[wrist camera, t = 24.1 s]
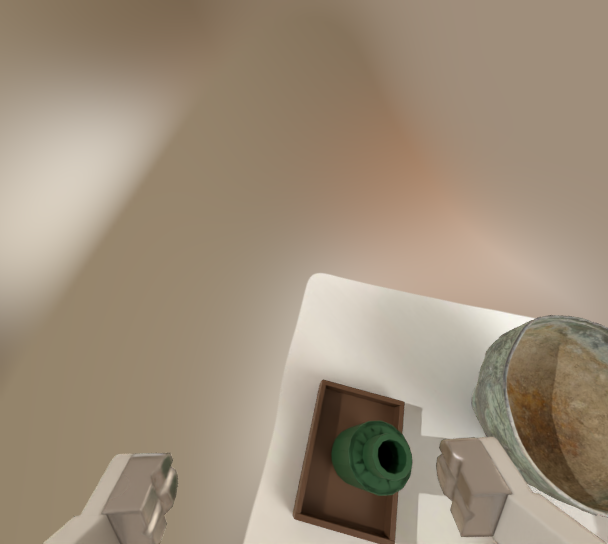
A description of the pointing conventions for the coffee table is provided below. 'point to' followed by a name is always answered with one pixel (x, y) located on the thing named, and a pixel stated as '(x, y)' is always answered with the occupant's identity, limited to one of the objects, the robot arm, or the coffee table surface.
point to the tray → (323, 478)
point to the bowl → (551, 406)
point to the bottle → (372, 457)
